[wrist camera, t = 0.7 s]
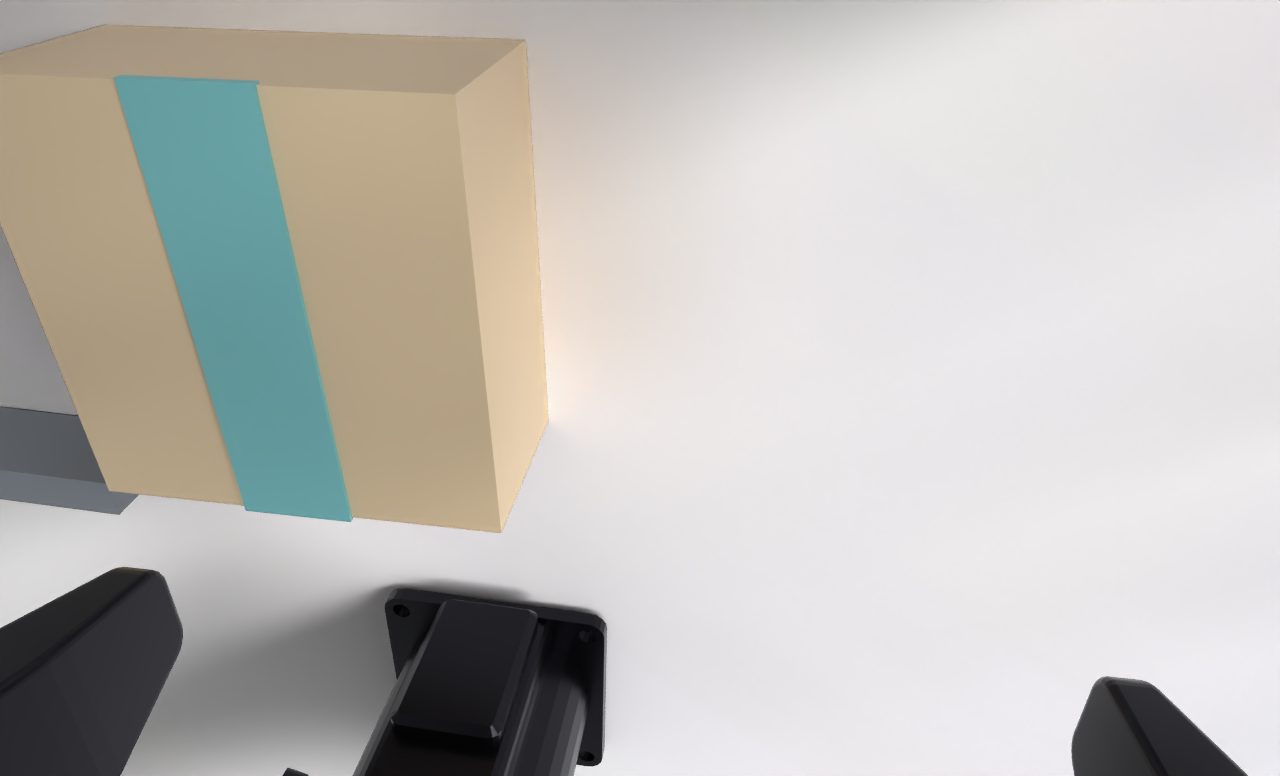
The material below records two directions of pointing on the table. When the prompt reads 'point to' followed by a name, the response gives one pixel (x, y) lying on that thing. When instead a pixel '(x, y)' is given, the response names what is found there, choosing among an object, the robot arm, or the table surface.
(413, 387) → the carton
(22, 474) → the gray u-shaped frame
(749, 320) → the table surface
